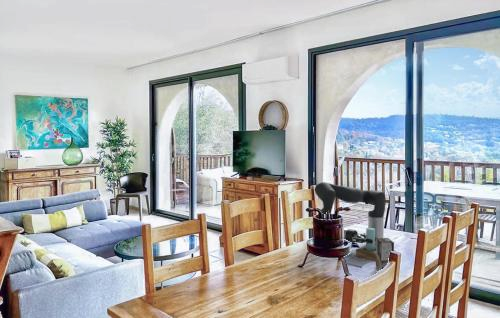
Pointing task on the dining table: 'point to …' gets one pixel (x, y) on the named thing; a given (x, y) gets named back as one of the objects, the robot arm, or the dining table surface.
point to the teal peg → (370, 235)
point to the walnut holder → (365, 254)
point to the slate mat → (357, 262)
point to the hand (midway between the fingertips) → (374, 240)
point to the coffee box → (383, 252)
